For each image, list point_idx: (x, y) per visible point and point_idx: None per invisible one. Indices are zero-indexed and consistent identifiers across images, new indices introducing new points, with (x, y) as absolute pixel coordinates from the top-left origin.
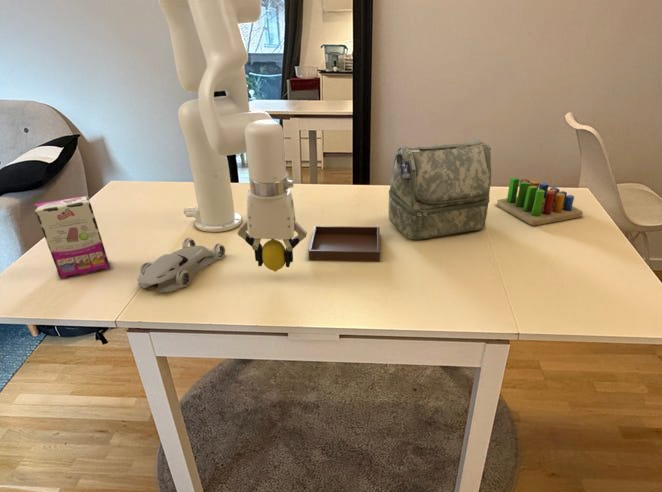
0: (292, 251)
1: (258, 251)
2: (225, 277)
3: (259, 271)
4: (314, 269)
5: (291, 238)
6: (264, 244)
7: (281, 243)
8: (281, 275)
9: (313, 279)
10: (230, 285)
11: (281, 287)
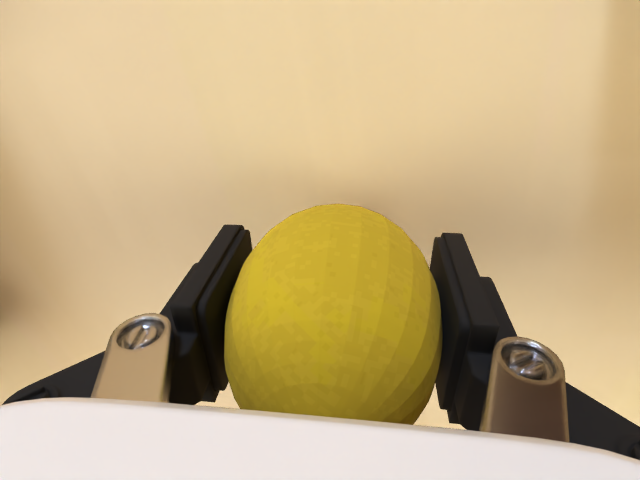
0: (509, 328)
1: (211, 395)
2: (80, 224)
3: (232, 154)
4: (624, 114)
5: (563, 433)
6: (235, 396)
7: (414, 398)
8: (378, 203)
9: (581, 251)
10: (143, 295)
11: None
